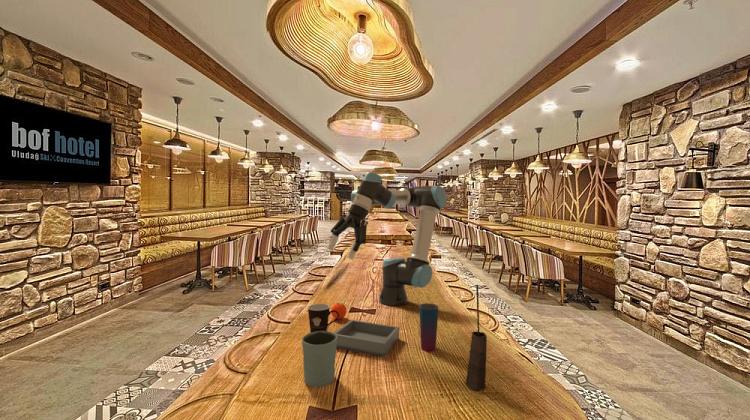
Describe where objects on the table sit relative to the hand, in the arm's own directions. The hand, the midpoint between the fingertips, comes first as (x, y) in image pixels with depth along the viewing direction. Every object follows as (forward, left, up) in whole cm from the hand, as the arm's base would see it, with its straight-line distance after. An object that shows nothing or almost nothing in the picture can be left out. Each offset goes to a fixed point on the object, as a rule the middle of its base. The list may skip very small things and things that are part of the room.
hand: (339, 254), depth 126 cm
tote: (+7, +15, -31) cm, 35 cm away
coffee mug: (+5, -5, -31) cm, 32 cm away
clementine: (-12, -6, -31) cm, 34 cm away
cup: (+2, +37, -31) cm, 48 cm away
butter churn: (+21, +55, -31) cm, 67 cm away
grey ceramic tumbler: (+34, +12, -31) cm, 48 cm away
